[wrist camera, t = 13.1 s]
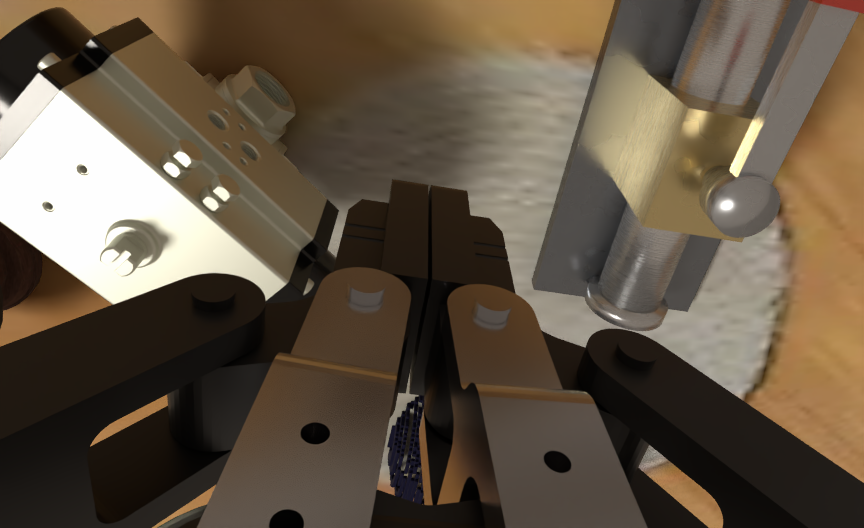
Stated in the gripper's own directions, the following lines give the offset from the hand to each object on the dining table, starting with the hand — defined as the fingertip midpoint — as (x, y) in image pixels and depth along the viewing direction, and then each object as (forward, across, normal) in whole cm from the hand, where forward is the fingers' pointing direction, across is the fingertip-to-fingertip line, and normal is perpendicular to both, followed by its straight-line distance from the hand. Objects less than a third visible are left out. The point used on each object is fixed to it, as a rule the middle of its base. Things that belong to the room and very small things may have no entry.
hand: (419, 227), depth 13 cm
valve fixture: (+29, -17, +5) cm, 34 cm away
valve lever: (+19, -17, -1) cm, 26 cm away
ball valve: (+29, +11, +9) cm, 32 cm away
